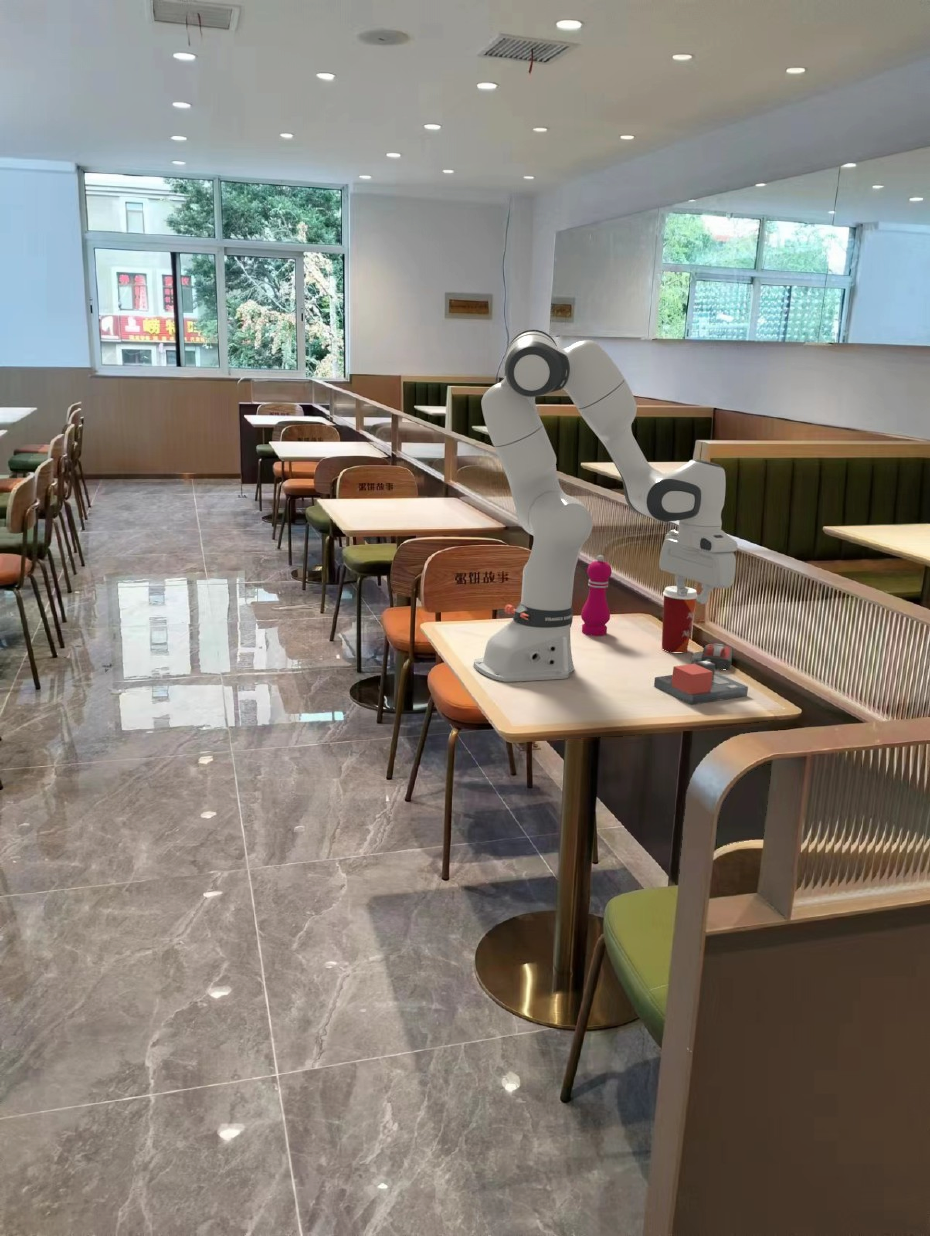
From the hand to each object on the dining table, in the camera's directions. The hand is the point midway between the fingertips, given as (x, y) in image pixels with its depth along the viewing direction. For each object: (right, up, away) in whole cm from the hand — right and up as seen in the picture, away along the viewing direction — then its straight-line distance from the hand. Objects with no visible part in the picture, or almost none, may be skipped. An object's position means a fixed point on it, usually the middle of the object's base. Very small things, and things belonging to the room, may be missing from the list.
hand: (691, 599), depth 209 cm
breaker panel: (0, -19, -6) cm, 20 cm away
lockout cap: (-3, -19, -11) cm, 22 cm away
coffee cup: (+1, -12, +23) cm, 26 cm away
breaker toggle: (+2, -16, -2) cm, 16 cm away
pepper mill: (-17, -8, +34) cm, 39 cm away
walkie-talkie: (+7, -15, +12) cm, 21 cm away
